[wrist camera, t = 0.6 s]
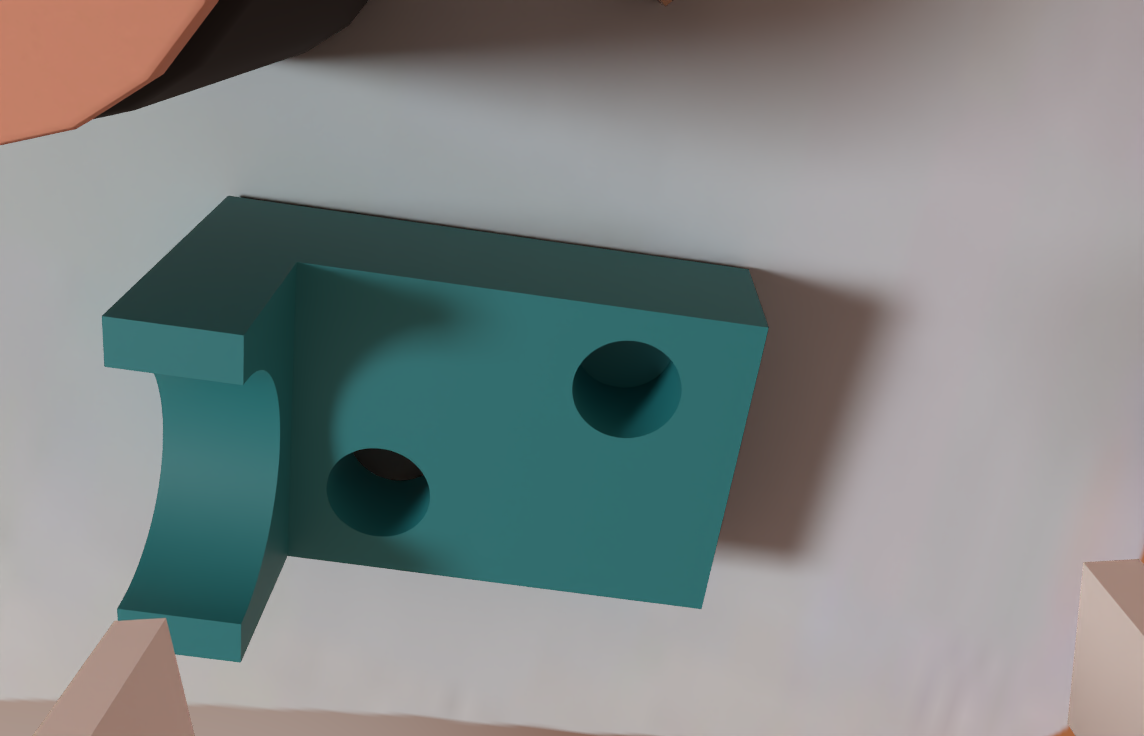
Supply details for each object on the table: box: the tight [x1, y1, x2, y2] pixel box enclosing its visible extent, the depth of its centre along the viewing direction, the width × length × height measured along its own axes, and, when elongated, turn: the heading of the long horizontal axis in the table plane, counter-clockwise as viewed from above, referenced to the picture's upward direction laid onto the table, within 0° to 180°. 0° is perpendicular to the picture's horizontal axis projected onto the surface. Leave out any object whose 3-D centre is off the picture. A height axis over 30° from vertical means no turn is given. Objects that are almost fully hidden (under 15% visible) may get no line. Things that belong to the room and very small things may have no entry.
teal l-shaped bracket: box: [102, 196, 769, 662], centre depth 35 cm, size 18×11×10 cm, turn 82°
